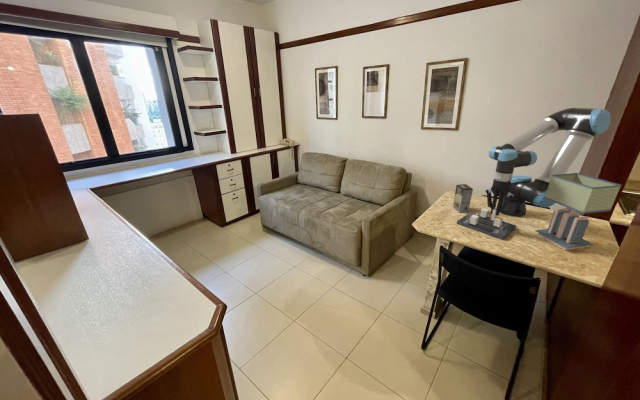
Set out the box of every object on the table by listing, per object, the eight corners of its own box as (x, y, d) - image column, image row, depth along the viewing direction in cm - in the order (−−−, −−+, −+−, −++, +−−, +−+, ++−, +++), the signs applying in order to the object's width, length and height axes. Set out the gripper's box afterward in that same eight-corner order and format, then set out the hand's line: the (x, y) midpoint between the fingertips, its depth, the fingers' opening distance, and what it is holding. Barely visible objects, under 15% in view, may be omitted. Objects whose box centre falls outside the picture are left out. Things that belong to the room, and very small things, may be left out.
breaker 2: (482, 214, 153) (483, 208, 152) (487, 216, 151) (489, 209, 150) (479, 216, 152) (481, 209, 150) (485, 218, 150) (486, 211, 148)
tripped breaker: (495, 223, 143) (497, 216, 141) (501, 225, 141) (503, 218, 139) (493, 225, 141) (494, 218, 139) (499, 227, 139) (501, 219, 137)
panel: (470, 214, 160) (471, 211, 159) (515, 228, 142) (516, 225, 141) (456, 223, 150) (457, 220, 149) (502, 240, 132) (503, 236, 131)
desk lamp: (532, 233, 137) (551, 175, 124) (556, 230, 138) (577, 172, 125) (567, 252, 120) (592, 187, 107) (594, 249, 121) (622, 184, 108)
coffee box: (452, 206, 172) (455, 184, 166) (461, 206, 172) (465, 183, 165) (458, 212, 163) (463, 189, 157) (469, 212, 163) (473, 188, 157)
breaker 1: (472, 221, 146) (473, 214, 145) (477, 223, 144) (479, 216, 142) (469, 223, 145) (470, 216, 143) (475, 225, 143) (476, 218, 141)
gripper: (485, 178, 136) (477, 218, 145) (514, 184, 126) (503, 226, 135) (491, 175, 140) (483, 213, 149) (519, 180, 130) (509, 221, 139)
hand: (493, 219), depth 142 cm, fingers closed
